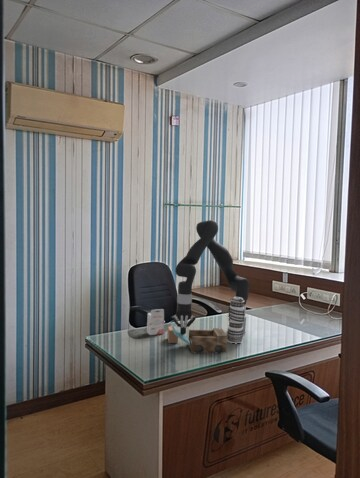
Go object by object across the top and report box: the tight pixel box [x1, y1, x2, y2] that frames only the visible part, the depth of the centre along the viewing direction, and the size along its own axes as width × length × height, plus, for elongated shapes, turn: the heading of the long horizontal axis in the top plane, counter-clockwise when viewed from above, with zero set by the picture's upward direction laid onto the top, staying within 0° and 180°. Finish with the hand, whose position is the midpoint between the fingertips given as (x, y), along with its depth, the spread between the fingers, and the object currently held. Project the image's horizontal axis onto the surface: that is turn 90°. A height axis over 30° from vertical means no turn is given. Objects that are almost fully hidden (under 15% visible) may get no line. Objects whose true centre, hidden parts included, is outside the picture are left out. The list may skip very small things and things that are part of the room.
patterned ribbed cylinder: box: [226, 296, 246, 345], centre depth 224 cm, size 9×9×25 cm
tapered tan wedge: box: [166, 325, 179, 344], centre depth 220 cm, size 5×7×7 cm
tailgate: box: [172, 325, 190, 347], centre depth 210 cm, size 2×12×10 cm
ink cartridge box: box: [146, 308, 165, 336], centre depth 231 cm, size 9×5×15 cm, turn 117°
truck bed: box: [188, 327, 228, 354], centre depth 211 cm, size 18×14×9 cm
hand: (182, 334), depth 209 cm, fingers closed
